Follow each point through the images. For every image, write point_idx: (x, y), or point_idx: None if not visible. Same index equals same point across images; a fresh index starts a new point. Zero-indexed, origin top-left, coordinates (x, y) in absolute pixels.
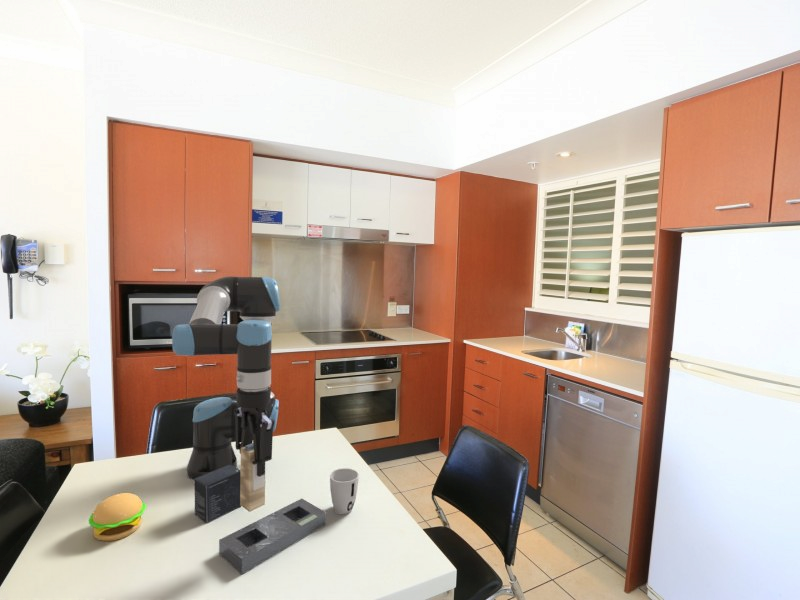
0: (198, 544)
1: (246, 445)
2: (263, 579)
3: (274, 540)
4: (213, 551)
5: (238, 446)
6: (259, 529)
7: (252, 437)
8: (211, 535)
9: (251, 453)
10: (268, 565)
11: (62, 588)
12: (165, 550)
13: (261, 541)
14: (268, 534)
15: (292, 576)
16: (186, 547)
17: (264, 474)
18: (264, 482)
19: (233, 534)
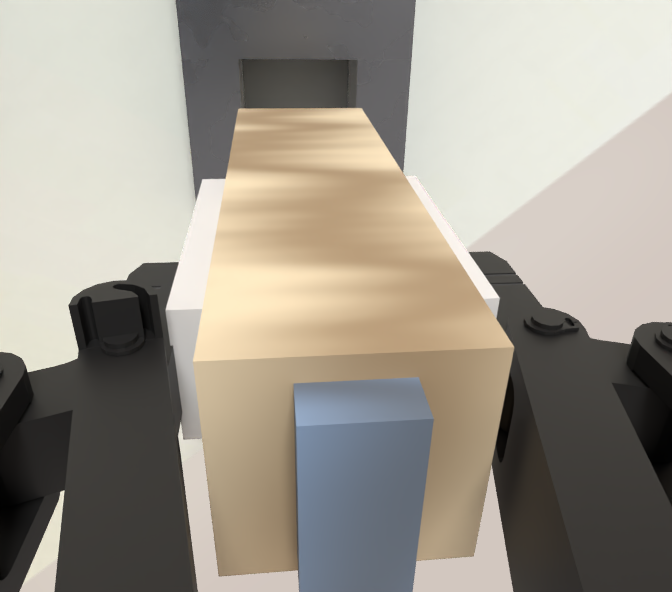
0: (78, 237)
1: (308, 588)
2: (475, 163)
3: (406, 52)
4: (171, 215)
5: (52, 513)
6: (263, 51)
7: (185, 527)
8: (45, 171)
9: (475, 534)
10: (428, 104)
11: (43, 549)
12: (35, 333)
13: (363, 105)
14: (340, 43)
15: (562, 74)
16: (67, 276)
17: (490, 253)
18: (423, 187)
19: (207, 170)
